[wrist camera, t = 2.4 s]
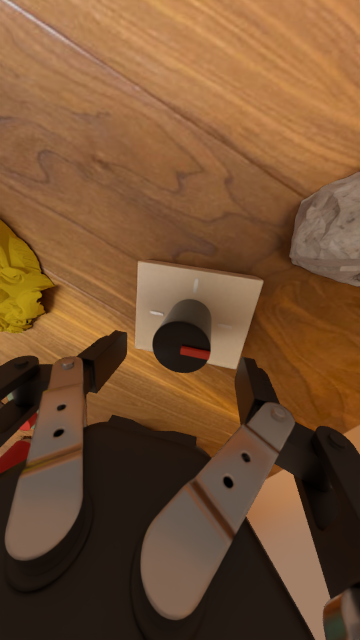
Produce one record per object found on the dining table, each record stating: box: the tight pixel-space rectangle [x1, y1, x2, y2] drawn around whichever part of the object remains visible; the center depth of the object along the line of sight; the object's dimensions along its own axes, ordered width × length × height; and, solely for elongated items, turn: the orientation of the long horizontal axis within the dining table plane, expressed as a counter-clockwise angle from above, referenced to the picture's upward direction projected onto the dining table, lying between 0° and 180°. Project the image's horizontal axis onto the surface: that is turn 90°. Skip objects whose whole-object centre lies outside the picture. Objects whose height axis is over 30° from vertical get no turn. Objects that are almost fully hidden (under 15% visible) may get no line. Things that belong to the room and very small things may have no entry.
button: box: [19, 412, 38, 431], centre depth 28 cm, size 4×4×2 cm
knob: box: [152, 299, 212, 373], centre depth 16 cm, size 4×4×6 cm
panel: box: [135, 259, 264, 369], centre depth 20 cm, size 12×10×3 cm
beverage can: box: [0, 438, 32, 473], centre depth 34 cm, size 6×6×12 cm
